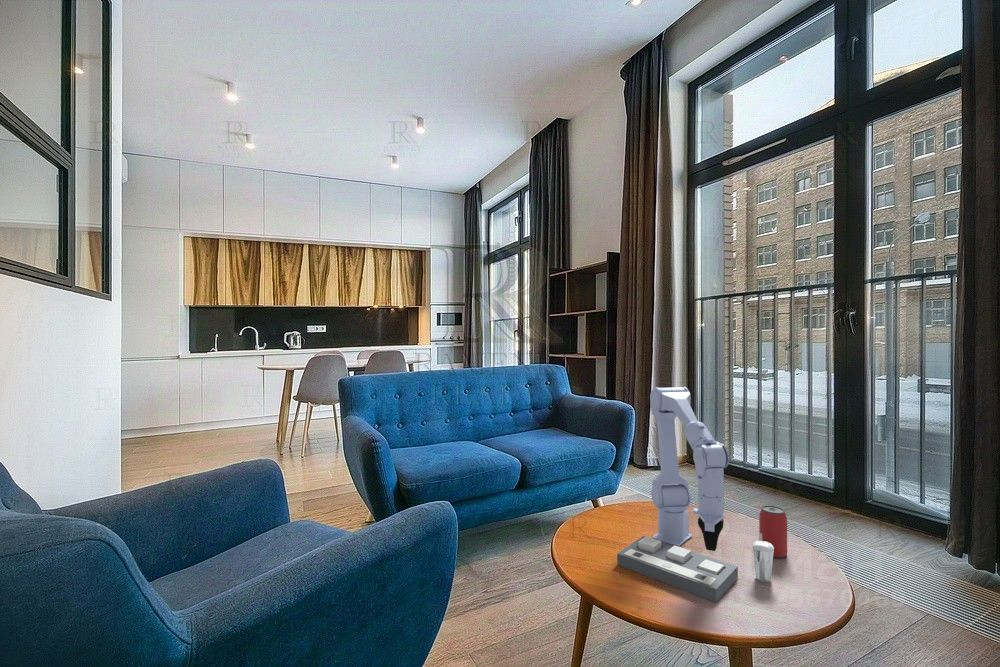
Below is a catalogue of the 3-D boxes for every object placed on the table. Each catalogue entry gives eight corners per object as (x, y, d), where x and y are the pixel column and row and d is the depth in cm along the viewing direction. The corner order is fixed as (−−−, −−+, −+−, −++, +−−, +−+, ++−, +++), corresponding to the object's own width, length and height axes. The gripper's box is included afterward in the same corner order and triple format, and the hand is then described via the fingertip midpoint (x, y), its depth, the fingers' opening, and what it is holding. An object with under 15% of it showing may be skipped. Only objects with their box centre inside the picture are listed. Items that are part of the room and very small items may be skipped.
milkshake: (771, 574, 120) (771, 534, 120) (775, 585, 115) (775, 544, 114) (750, 571, 121) (750, 532, 121) (754, 582, 116) (754, 541, 116)
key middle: (674, 556, 126) (674, 545, 126) (691, 562, 123) (691, 550, 123) (667, 562, 123) (666, 551, 123) (683, 568, 120) (683, 556, 120)
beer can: (782, 548, 133) (782, 505, 133) (791, 560, 127) (791, 514, 127) (756, 546, 135) (756, 503, 134) (763, 557, 128) (763, 512, 128)
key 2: (705, 571, 121) (705, 559, 121) (723, 577, 118) (723, 565, 118) (698, 577, 118) (698, 565, 118) (717, 584, 115) (717, 572, 115)
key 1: (646, 547, 132) (646, 536, 132) (661, 552, 129) (661, 541, 129) (638, 552, 129) (638, 541, 129) (653, 558, 126) (653, 546, 126)
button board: (643, 546, 136) (643, 534, 136) (737, 578, 118) (737, 564, 118) (617, 564, 126) (617, 552, 126) (716, 602, 108) (716, 587, 108)
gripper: (695, 482, 126) (695, 534, 126) (690, 501, 113) (690, 559, 113) (725, 486, 123) (725, 539, 123) (724, 506, 109) (724, 565, 110)
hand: (710, 549), depth 118 cm, fingers closed
